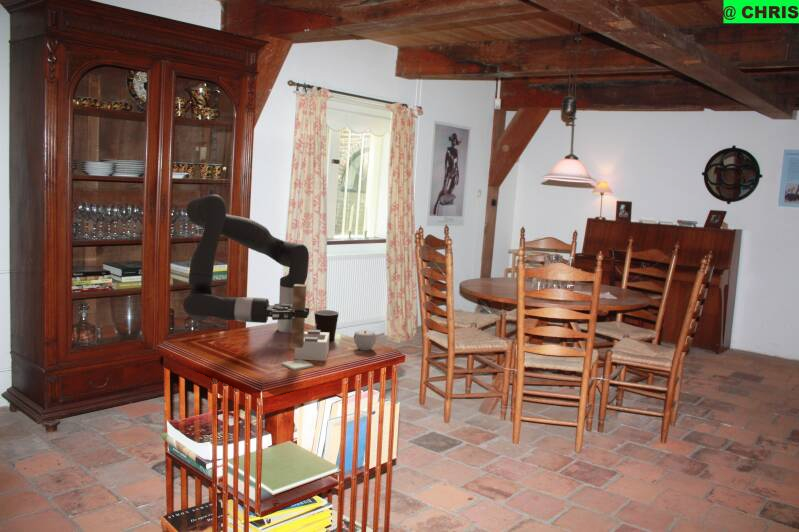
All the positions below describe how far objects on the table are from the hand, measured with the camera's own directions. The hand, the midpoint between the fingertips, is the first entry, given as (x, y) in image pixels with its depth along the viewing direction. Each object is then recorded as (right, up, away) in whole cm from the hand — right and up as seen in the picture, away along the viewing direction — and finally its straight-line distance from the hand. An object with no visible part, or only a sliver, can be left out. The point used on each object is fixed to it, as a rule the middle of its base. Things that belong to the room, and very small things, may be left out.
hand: (308, 313), depth 199 cm
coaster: (-4, -16, +2) cm, 17 cm away
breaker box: (-1, -15, +16) cm, 21 cm away
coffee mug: (+2, -12, +36) cm, 38 cm away
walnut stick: (-4, -10, +1) cm, 11 cm away
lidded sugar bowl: (+16, -15, +25) cm, 33 cm away
